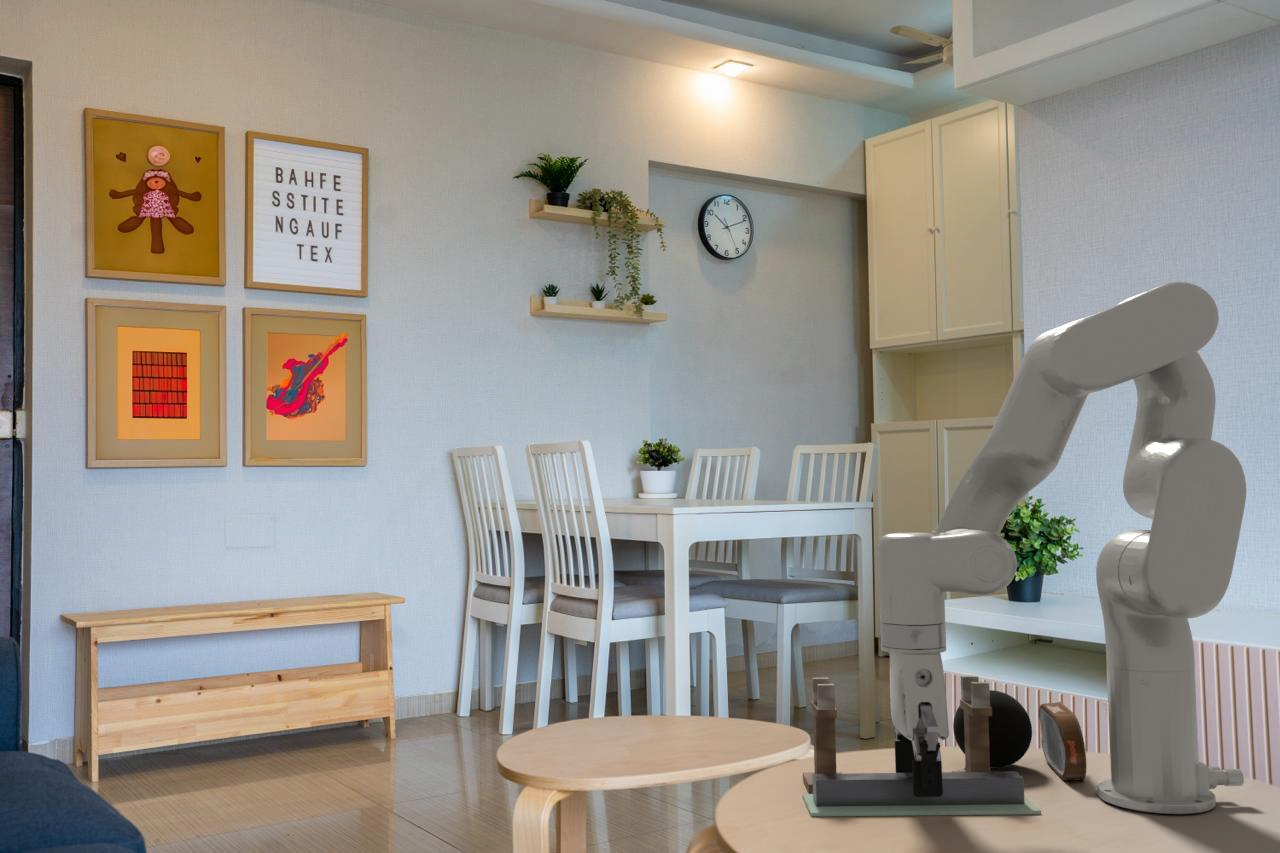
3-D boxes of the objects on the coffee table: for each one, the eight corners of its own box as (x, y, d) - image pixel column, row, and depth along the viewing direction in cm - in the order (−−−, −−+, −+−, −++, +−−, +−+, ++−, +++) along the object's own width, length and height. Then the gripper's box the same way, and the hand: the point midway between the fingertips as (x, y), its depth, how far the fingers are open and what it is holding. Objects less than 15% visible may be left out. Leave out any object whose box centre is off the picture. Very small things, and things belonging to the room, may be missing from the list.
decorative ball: (1021, 758, 153) (1019, 684, 154) (1043, 776, 143) (1040, 697, 144) (947, 758, 154) (945, 684, 154) (963, 776, 144) (961, 697, 144)
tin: (1089, 787, 137) (1086, 718, 138) (1063, 787, 138) (1060, 718, 138) (1061, 759, 152) (1059, 696, 153) (1037, 758, 153) (1035, 696, 153)
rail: (1016, 797, 132) (1015, 771, 132) (1024, 804, 129) (1023, 777, 129) (813, 799, 132) (812, 773, 133) (816, 806, 129) (815, 780, 130)
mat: (1019, 795, 134) (1018, 791, 134) (1041, 814, 126) (1041, 810, 126) (802, 797, 135) (802, 794, 135) (811, 816, 127) (810, 812, 127)
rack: (991, 778, 142) (987, 675, 143) (1005, 790, 136) (1001, 683, 137) (802, 780, 143) (800, 677, 144) (808, 792, 137) (806, 685, 138)
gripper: (964, 647, 123) (970, 805, 122) (928, 628, 140) (933, 766, 139) (896, 648, 123) (901, 806, 122) (868, 629, 141) (872, 767, 140)
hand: (918, 784), depth 131 cm, fingers open, 9 cm apart
